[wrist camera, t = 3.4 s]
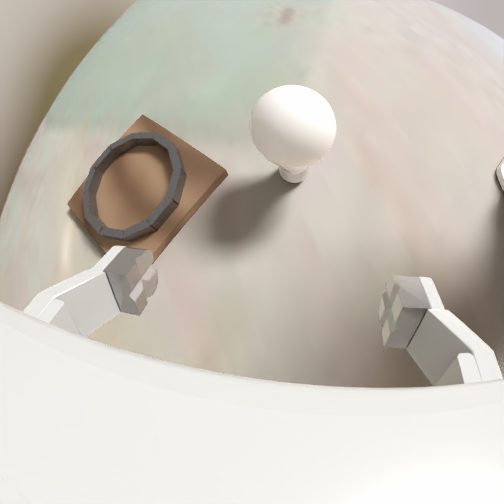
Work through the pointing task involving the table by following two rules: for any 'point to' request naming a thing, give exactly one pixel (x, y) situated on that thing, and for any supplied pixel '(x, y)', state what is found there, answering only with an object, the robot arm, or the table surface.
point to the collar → (161, 210)
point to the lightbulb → (292, 129)
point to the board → (149, 189)
